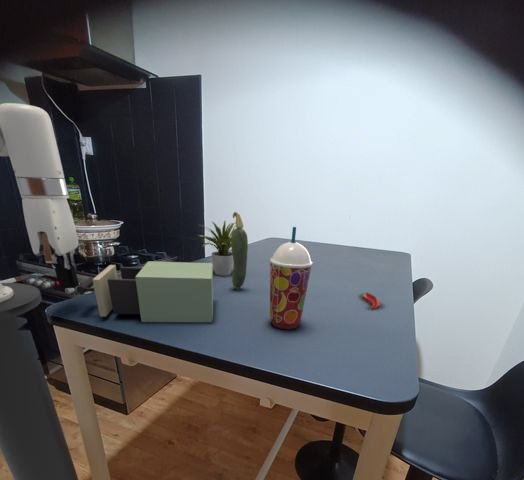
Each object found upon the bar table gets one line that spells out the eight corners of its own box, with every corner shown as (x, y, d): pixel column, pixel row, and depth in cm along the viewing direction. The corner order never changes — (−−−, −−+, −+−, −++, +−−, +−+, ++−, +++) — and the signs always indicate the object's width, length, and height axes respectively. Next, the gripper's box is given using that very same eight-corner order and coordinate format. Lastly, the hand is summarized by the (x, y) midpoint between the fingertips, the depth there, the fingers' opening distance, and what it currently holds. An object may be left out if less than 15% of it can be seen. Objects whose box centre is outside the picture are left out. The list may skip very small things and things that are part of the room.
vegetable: (248, 289, 89) (251, 212, 79) (241, 293, 86) (243, 213, 76) (235, 286, 91) (236, 210, 81) (227, 290, 87) (227, 211, 77)
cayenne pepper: (380, 310, 80) (381, 303, 79) (361, 307, 81) (362, 300, 80) (379, 296, 90) (380, 289, 89) (362, 294, 91) (364, 287, 91)
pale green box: (141, 322, 66) (135, 276, 61) (152, 301, 77) (147, 261, 72) (212, 322, 68) (211, 278, 63) (213, 301, 79) (212, 263, 74)
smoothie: (276, 313, 74) (283, 222, 65) (309, 322, 71) (322, 227, 61) (258, 325, 68) (264, 226, 58) (294, 335, 64) (307, 232, 55)
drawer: (77, 316, 64) (68, 278, 61) (96, 297, 74) (89, 264, 70) (167, 317, 67) (164, 281, 63) (174, 298, 77) (171, 266, 73)
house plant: (213, 264, 111) (212, 214, 103) (250, 270, 107) (252, 218, 100) (193, 274, 99) (190, 218, 91) (233, 280, 95) (234, 223, 88)
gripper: (41, 187, 64) (65, 277, 73) (-4, 190, 51) (32, 299, 60) (81, 188, 65) (100, 276, 74) (46, 191, 52) (74, 298, 61)
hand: (69, 286), depth 67 cm, fingers closed
